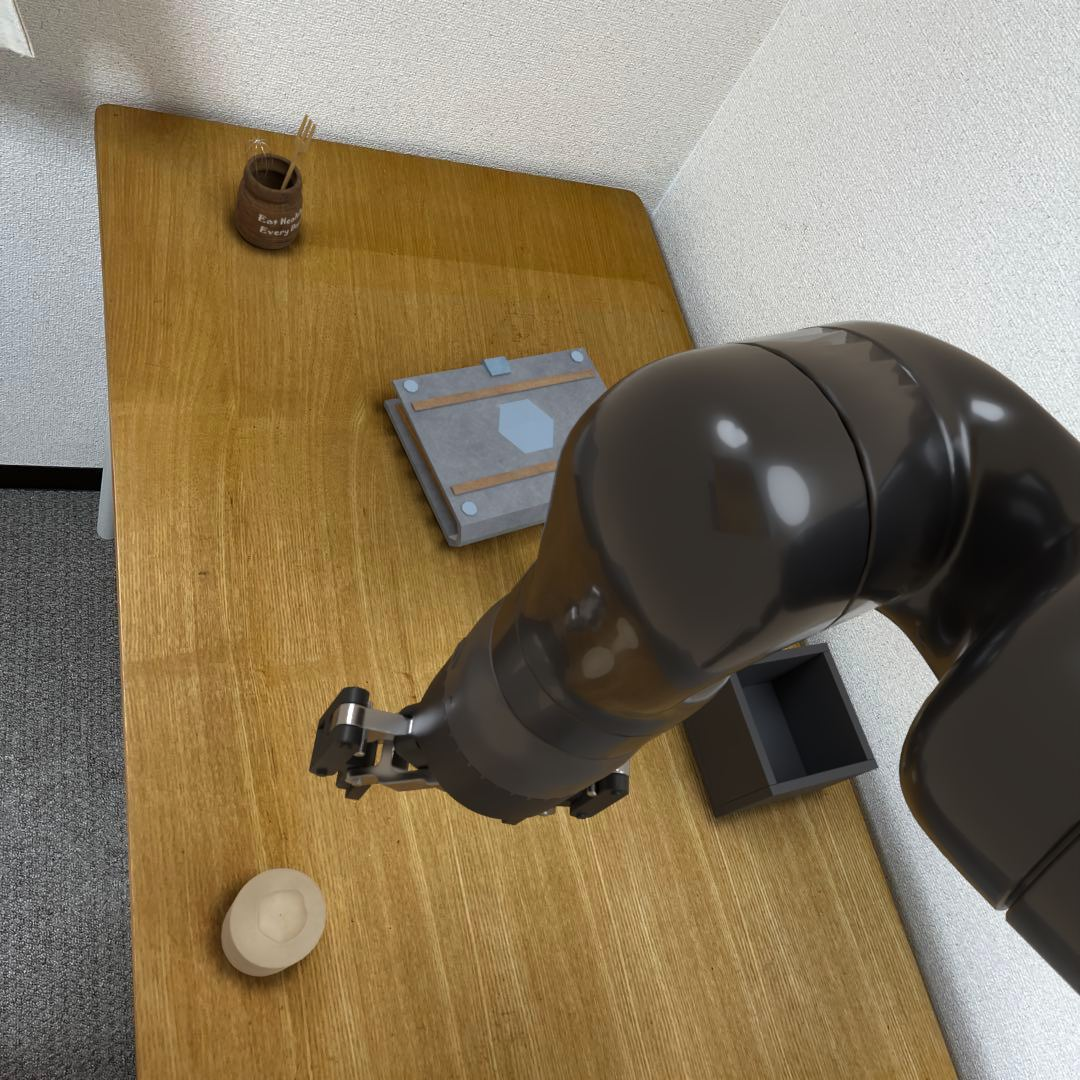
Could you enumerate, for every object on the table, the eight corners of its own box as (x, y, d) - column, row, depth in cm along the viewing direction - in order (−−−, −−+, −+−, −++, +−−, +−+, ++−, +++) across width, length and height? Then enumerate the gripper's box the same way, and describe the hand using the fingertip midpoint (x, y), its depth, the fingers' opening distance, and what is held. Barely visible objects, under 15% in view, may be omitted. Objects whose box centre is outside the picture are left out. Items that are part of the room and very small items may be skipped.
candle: (201, 940, 58) (210, 924, 50) (262, 870, 62) (279, 844, 54) (266, 995, 58) (284, 988, 50) (323, 922, 62) (349, 904, 53)
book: (452, 556, 78) (468, 530, 74) (381, 403, 83) (392, 370, 79) (639, 502, 89) (662, 476, 85) (566, 369, 94) (585, 338, 90)
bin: (815, 791, 81) (879, 767, 74) (715, 818, 76) (773, 795, 69) (770, 674, 85) (826, 641, 78) (673, 693, 80) (723, 660, 73)
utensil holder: (221, 215, 87) (230, 110, 77) (276, 199, 90) (292, 96, 80) (257, 259, 86) (270, 158, 76) (312, 240, 89) (331, 142, 79)
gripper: (339, 763, 31) (283, 846, 44) (704, 825, 35) (552, 884, 48) (374, 572, 35) (313, 701, 48) (700, 647, 39) (560, 747, 52)
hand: (433, 793), depth 48 cm, fingers open, 8 cm apart
